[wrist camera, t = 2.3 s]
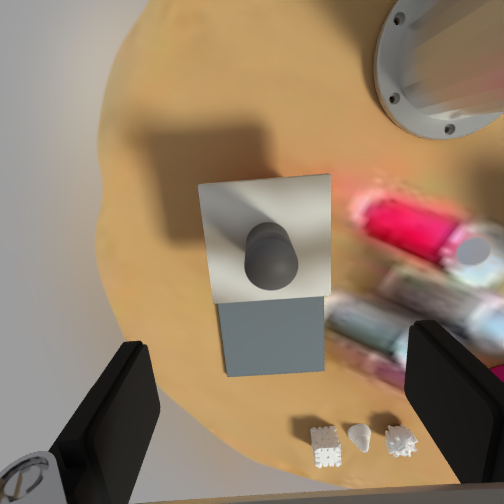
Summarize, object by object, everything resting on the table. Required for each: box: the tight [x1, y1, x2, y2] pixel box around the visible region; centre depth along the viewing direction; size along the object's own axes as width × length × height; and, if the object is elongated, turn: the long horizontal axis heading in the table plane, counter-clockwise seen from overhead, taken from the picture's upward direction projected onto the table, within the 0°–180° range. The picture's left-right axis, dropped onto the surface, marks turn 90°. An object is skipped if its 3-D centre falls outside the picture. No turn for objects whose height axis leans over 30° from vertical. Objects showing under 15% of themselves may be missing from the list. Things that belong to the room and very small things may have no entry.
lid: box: [198, 173, 331, 304], centre depth 23 cm, size 10×10×6 cm
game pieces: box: [310, 424, 418, 468], centre depth 37 cm, size 12×3×3 cm, turn 97°
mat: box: [218, 296, 324, 377], centre depth 33 cm, size 11×11×1 cm
